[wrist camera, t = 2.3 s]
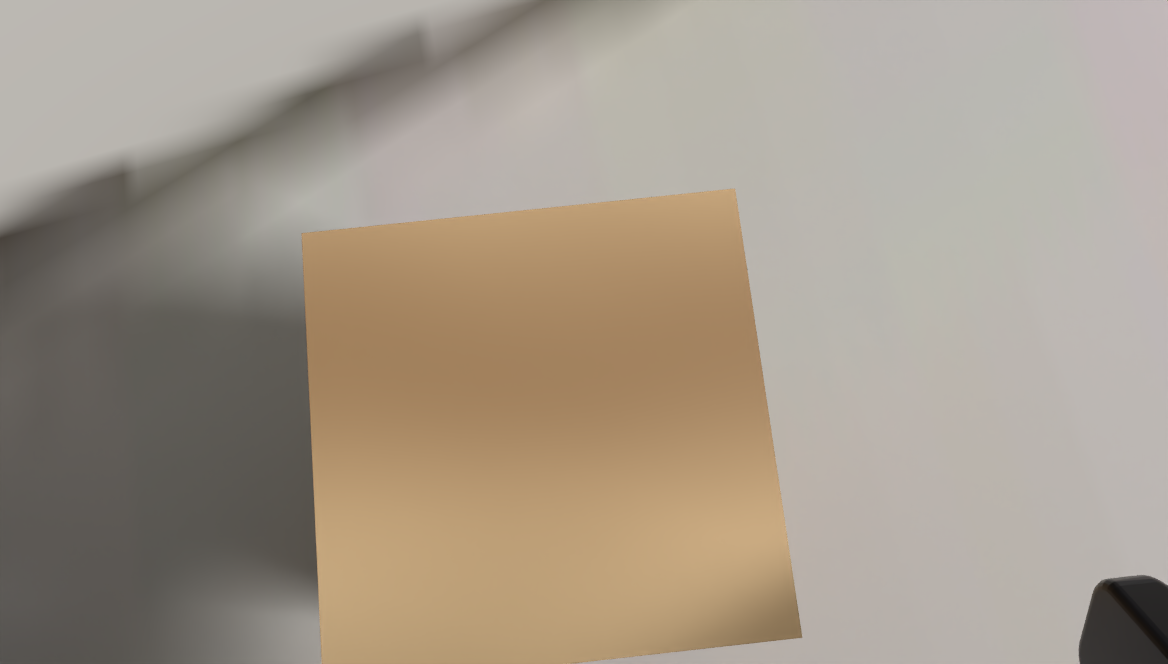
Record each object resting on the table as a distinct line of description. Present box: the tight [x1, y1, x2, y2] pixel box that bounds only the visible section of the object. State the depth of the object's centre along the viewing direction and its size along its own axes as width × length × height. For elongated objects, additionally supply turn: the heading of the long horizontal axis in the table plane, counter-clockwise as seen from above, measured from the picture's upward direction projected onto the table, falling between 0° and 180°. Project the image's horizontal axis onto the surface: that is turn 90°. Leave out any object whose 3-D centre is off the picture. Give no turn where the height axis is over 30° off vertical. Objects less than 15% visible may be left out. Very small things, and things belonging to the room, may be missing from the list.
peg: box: [302, 189, 802, 664], centre depth 14 cm, size 4×4×9 cm
